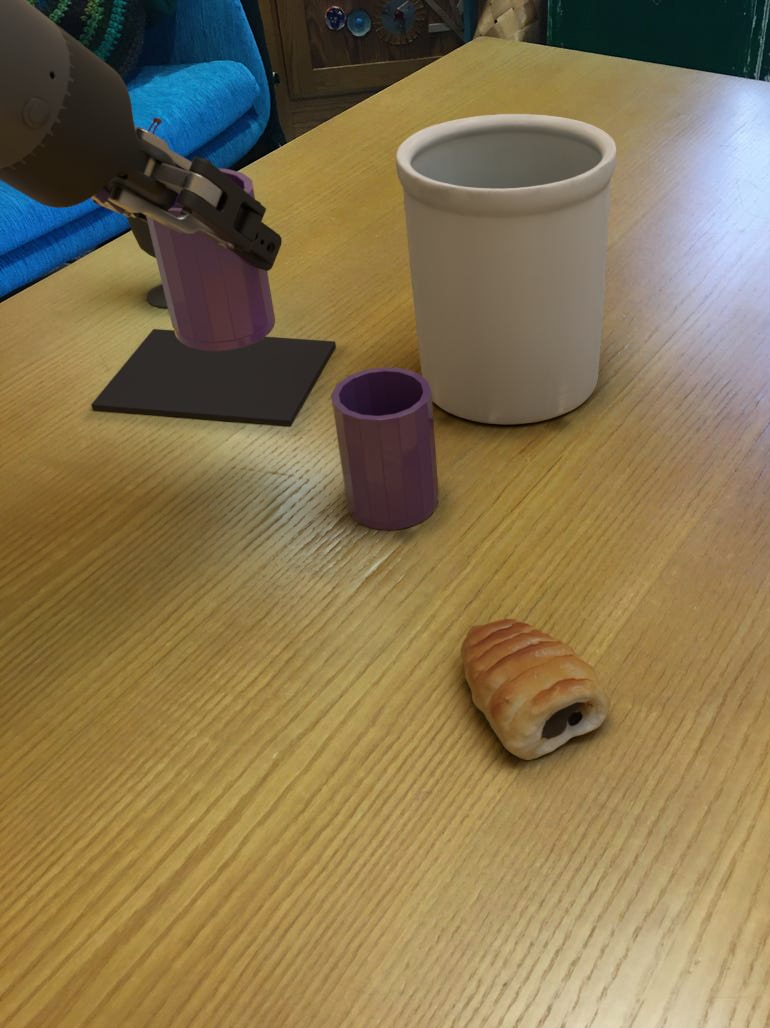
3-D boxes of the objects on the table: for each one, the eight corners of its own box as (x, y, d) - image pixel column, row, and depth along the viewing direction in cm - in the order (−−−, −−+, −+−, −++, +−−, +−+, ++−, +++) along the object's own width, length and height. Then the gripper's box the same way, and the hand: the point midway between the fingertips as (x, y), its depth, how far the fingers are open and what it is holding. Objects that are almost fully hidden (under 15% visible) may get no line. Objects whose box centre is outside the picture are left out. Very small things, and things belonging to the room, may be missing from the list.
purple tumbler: (336, 525, 73) (319, 415, 67) (361, 471, 78) (347, 364, 72) (426, 534, 72) (417, 423, 66) (446, 479, 77) (439, 370, 71)
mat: (92, 410, 85) (90, 404, 84) (154, 334, 93) (153, 328, 93) (290, 426, 82) (289, 420, 82) (336, 346, 90) (335, 341, 90)
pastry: (432, 666, 63) (428, 617, 61) (531, 624, 66) (532, 575, 63) (517, 775, 57) (517, 726, 55) (623, 724, 60) (628, 675, 57)
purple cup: (158, 347, 67) (123, 208, 61) (196, 299, 71) (168, 165, 65) (255, 355, 66) (230, 214, 60) (288, 306, 70) (267, 170, 64)
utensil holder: (410, 339, 91) (391, 116, 79) (588, 325, 92) (597, 103, 80) (419, 437, 80) (399, 198, 68) (620, 422, 81) (636, 182, 69)
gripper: (139, 33, 48) (345, 207, 63) (-63, -11, 54) (169, 157, 69) (77, 198, 48) (296, 331, 63) (-116, 135, 54) (126, 271, 69)
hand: (229, 240), depth 66 cm, fingers closed on purple cup, 6 cm apart
